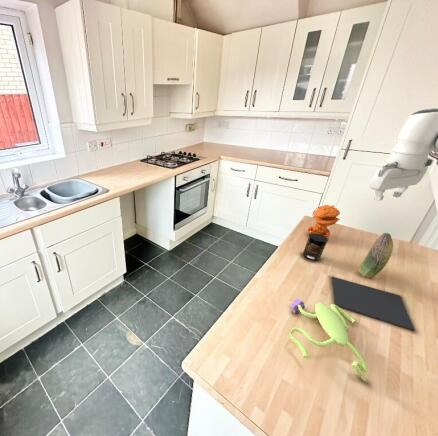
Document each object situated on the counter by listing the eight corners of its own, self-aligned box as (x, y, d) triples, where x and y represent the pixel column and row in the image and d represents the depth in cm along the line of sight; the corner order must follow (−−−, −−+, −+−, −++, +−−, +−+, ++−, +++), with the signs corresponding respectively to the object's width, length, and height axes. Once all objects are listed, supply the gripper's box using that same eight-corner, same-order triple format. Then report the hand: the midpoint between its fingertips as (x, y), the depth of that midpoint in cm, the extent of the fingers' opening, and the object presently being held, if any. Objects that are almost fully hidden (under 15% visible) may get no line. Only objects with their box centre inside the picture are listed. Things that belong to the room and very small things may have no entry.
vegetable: (370, 272, 97) (393, 230, 88) (381, 283, 92) (407, 239, 82) (353, 271, 98) (375, 229, 88) (363, 282, 93) (387, 238, 83)
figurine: (284, 358, 67) (289, 346, 65) (289, 294, 88) (293, 283, 85) (368, 394, 59) (378, 381, 57) (352, 315, 79) (359, 303, 77)
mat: (399, 296, 86) (400, 295, 86) (413, 331, 74) (414, 330, 74) (331, 277, 95) (332, 276, 95) (334, 305, 83) (335, 304, 83)
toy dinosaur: (326, 246, 113) (340, 212, 105) (301, 236, 121) (312, 204, 112) (334, 237, 120) (348, 205, 111) (310, 229, 127) (321, 197, 118)
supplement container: (320, 255, 107) (328, 236, 102) (319, 264, 102) (328, 243, 97) (302, 250, 111) (309, 231, 106) (301, 258, 106) (308, 238, 101)
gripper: (394, 166, 77) (375, 205, 83) (437, 160, 82) (416, 197, 88) (373, 161, 82) (357, 198, 89) (414, 156, 87) (396, 191, 93)
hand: (387, 198), depth 88 cm, fingers open, 8 cm apart
